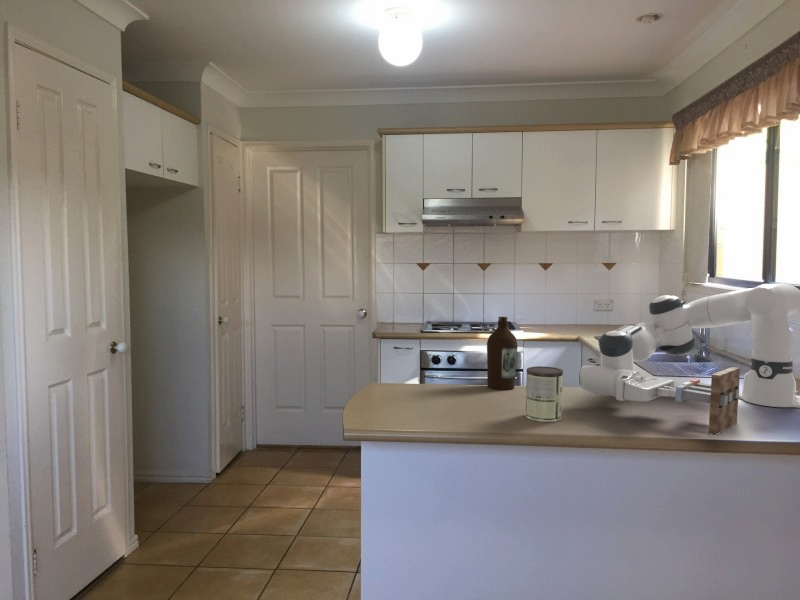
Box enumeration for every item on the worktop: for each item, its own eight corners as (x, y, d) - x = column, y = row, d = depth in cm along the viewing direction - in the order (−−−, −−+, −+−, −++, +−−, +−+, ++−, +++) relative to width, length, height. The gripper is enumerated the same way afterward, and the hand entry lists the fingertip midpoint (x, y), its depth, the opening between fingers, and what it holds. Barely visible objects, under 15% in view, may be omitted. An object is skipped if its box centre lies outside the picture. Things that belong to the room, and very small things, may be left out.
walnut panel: (729, 421, 182) (732, 366, 181) (736, 423, 181) (740, 367, 180) (708, 433, 170) (711, 374, 169) (716, 434, 169) (719, 375, 168)
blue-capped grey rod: (680, 398, 179) (681, 384, 179) (728, 407, 171) (729, 392, 170) (675, 401, 177) (676, 386, 176) (723, 409, 168) (724, 394, 167)
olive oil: (479, 386, 225) (481, 316, 223) (501, 383, 230) (503, 314, 228) (499, 392, 216) (502, 319, 214) (522, 388, 222) (524, 317, 220)
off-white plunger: (686, 395, 184) (687, 381, 184) (732, 403, 175) (733, 388, 175) (681, 397, 181) (681, 383, 181) (727, 405, 173) (728, 390, 172)
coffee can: (521, 412, 189) (523, 366, 187) (555, 413, 189) (557, 366, 188) (529, 422, 178) (531, 372, 177) (565, 422, 179) (567, 373, 178)
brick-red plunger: (694, 392, 188) (694, 378, 188) (739, 399, 180) (740, 385, 179) (688, 394, 186) (689, 380, 185) (735, 401, 177) (735, 387, 176)
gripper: (644, 390, 195) (691, 398, 185) (614, 401, 180) (662, 410, 171) (645, 370, 194) (692, 377, 185) (615, 379, 180) (664, 387, 170)
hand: (677, 393), depth 178 cm, fingers closed, pressing on blue-capped grey rod
